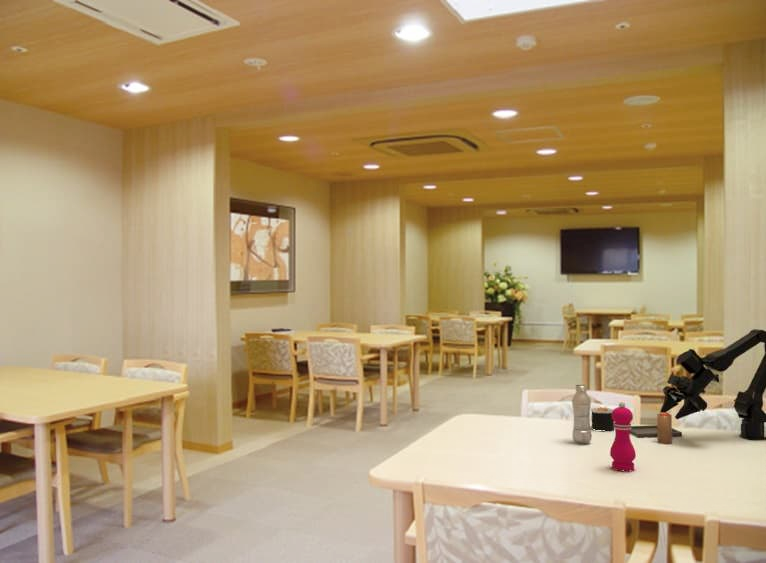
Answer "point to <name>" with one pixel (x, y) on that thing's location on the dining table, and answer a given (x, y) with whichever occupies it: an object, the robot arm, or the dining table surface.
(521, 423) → the dining table surface
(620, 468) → the pepper mill
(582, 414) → the plastic bottle
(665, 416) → the soy sauce bottle
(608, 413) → the sushi
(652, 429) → the tray
